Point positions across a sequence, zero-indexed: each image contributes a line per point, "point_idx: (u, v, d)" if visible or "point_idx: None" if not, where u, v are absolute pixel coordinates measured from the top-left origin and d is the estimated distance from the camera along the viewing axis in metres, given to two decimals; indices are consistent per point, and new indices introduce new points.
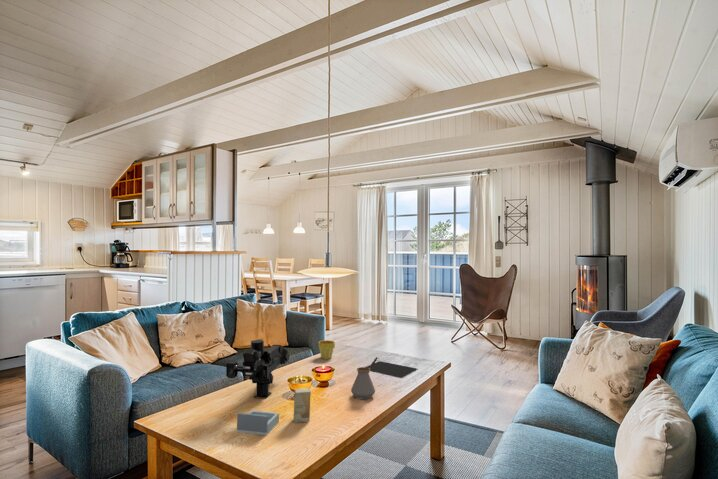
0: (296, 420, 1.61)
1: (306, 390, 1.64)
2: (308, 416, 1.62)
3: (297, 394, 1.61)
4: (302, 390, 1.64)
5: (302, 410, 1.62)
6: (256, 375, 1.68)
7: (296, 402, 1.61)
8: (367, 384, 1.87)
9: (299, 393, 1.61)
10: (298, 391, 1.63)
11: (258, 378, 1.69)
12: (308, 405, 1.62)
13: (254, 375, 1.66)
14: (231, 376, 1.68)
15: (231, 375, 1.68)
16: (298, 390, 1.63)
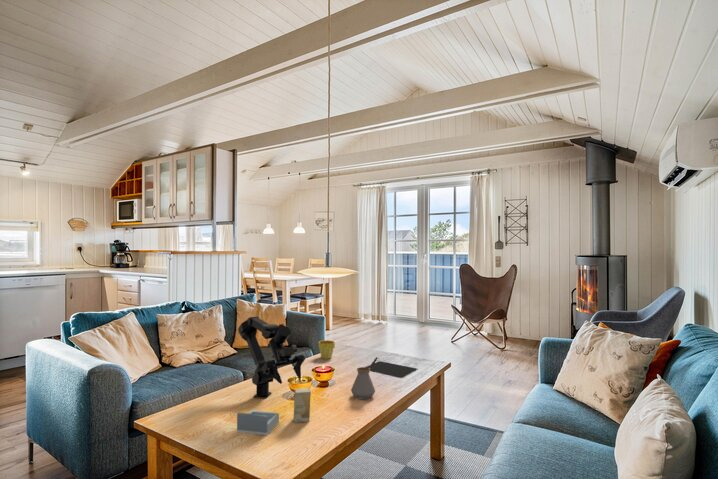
0: (296, 420, 1.61)
1: (306, 390, 1.64)
2: (308, 416, 1.62)
3: (297, 394, 1.61)
4: (302, 390, 1.64)
5: (302, 410, 1.62)
6: None
7: (296, 402, 1.61)
8: (367, 384, 1.87)
9: (299, 393, 1.61)
10: (298, 391, 1.63)
11: None
12: (308, 405, 1.62)
13: None
14: None
15: None
16: (298, 390, 1.63)
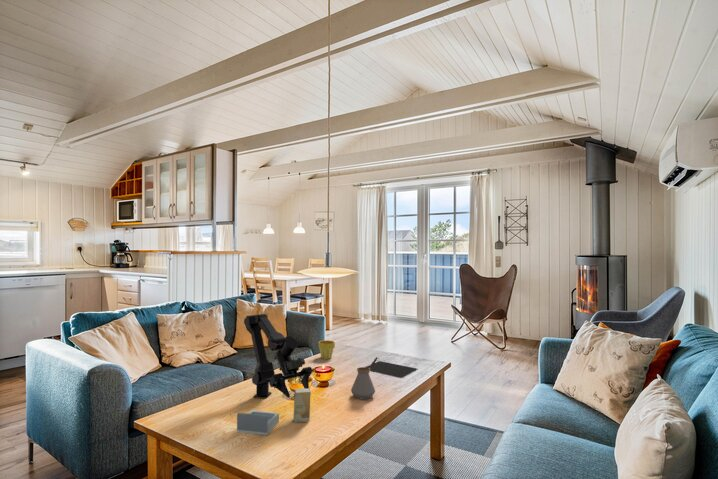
0: (296, 420, 1.61)
1: (306, 390, 1.64)
2: (308, 416, 1.62)
3: (297, 394, 1.61)
4: (302, 390, 1.64)
5: (302, 410, 1.62)
6: None
7: (296, 402, 1.61)
8: (367, 384, 1.87)
9: (299, 393, 1.61)
10: (298, 391, 1.63)
11: None
12: (308, 405, 1.62)
13: None
14: None
15: None
16: (298, 390, 1.63)
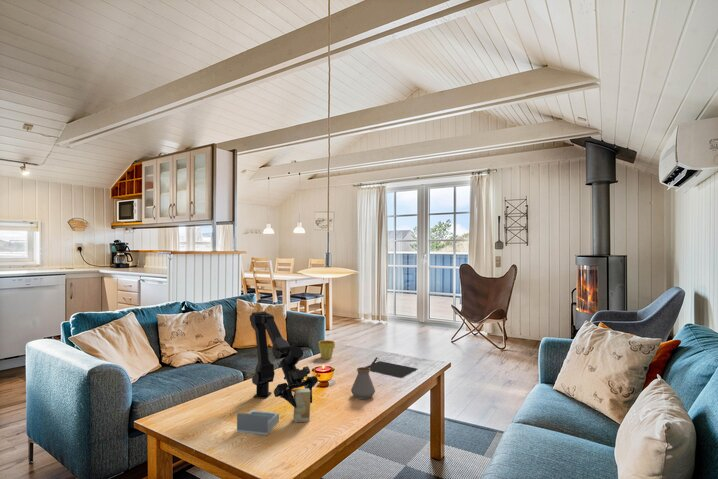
0: (296, 420, 1.61)
1: (306, 390, 1.64)
2: (308, 416, 1.62)
3: (297, 394, 1.61)
4: (302, 390, 1.64)
5: (302, 410, 1.62)
6: None
7: (296, 402, 1.61)
8: (367, 384, 1.87)
9: (299, 393, 1.61)
10: (298, 391, 1.63)
11: None
12: (308, 405, 1.62)
13: None
14: None
15: None
16: (298, 390, 1.63)
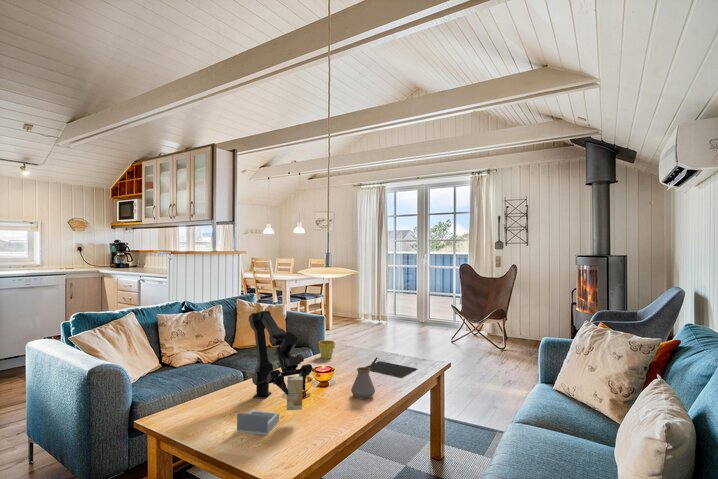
0: (288, 408, 1.60)
1: (299, 378, 1.62)
2: (300, 404, 1.60)
3: (289, 382, 1.60)
4: (295, 378, 1.62)
5: (294, 398, 1.60)
6: None
7: (288, 390, 1.60)
8: (367, 384, 1.87)
9: (291, 381, 1.60)
10: (290, 378, 1.61)
11: None
12: (300, 393, 1.60)
13: None
14: None
15: None
16: (291, 378, 1.62)
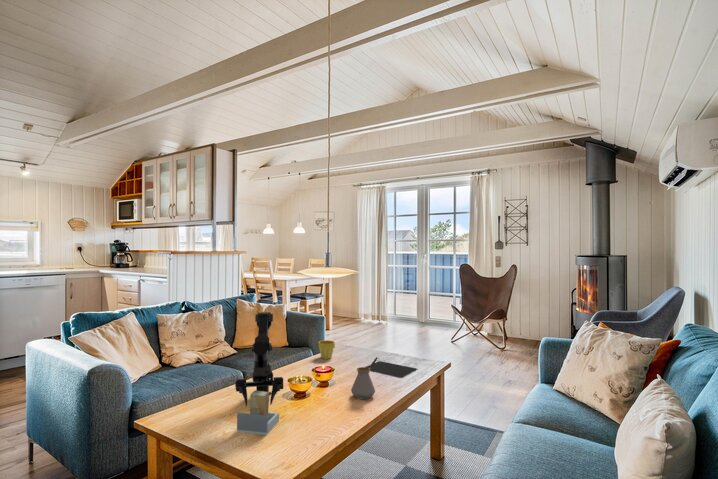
0: None
1: (262, 393, 1.57)
2: None
3: (251, 396, 1.56)
4: (259, 393, 1.57)
5: None
6: (274, 393, 1.60)
7: (250, 404, 1.56)
8: (367, 384, 1.87)
9: (253, 395, 1.56)
10: (254, 392, 1.57)
11: (275, 393, 1.62)
12: (262, 409, 1.55)
13: (273, 397, 1.59)
14: None
15: None
16: (255, 392, 1.58)
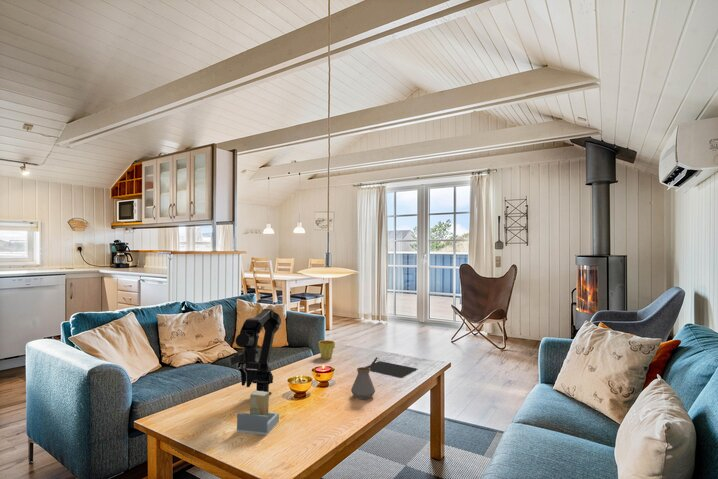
0: None
1: (262, 393, 1.57)
2: None
3: (251, 396, 1.56)
4: (259, 393, 1.57)
5: None
6: (250, 376, 1.66)
7: (250, 404, 1.56)
8: (367, 384, 1.87)
9: (253, 395, 1.56)
10: (254, 392, 1.57)
11: (254, 374, 1.66)
12: (262, 409, 1.55)
13: (248, 380, 1.65)
14: (245, 379, 1.74)
15: (244, 379, 1.74)
16: (256, 392, 1.58)
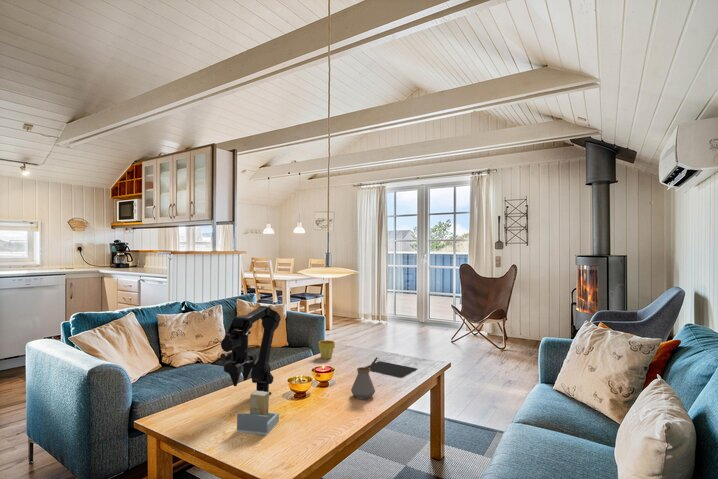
0: None
1: (262, 393, 1.57)
2: None
3: (251, 396, 1.56)
4: (259, 393, 1.57)
5: None
6: (234, 376, 1.67)
7: (250, 404, 1.56)
8: (367, 384, 1.87)
9: (253, 395, 1.56)
10: (254, 392, 1.57)
11: (237, 375, 1.66)
12: (262, 409, 1.55)
13: (233, 380, 1.67)
14: (247, 373, 1.77)
15: (246, 373, 1.77)
16: (256, 392, 1.58)
